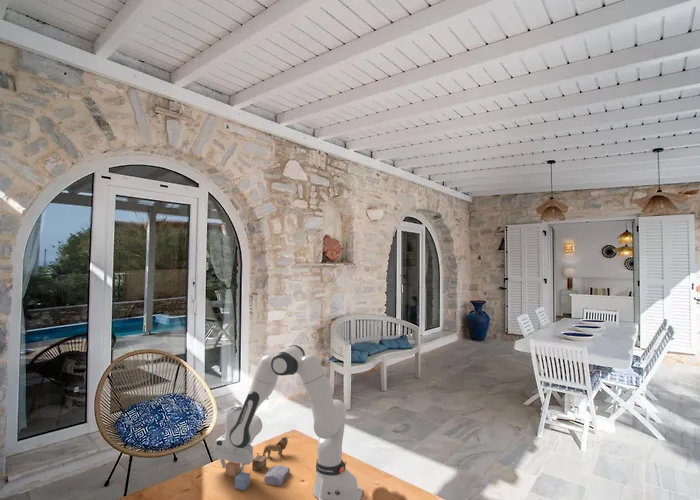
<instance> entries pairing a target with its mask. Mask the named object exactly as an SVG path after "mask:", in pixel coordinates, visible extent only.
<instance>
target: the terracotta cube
mask: <svg viewBox="0 0 700 500" xmlns="http://www.w3.org/2000/svg"><path fill="white" fill-rule="evenodd" d="M240 467H241V463H237V462H232V461H228V462H227V464H226V468H225V476H229V477H234V478H235V477H236V476H237V475H238V474H239V473H240V471H239V468H240Z"/></svg>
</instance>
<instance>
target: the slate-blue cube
mask: <svg viewBox="0 0 700 500" xmlns="http://www.w3.org/2000/svg"><path fill="white" fill-rule="evenodd" d="M250 485H251V473H249V472H244V471H243V472H239V473H238V474H237V475H236V476H235V477H234V489H235V490H241V491H245V490H246V489H247V488H248V487H249V486H250Z"/></svg>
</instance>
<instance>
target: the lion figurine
mask: <svg viewBox="0 0 700 500" xmlns="http://www.w3.org/2000/svg"><path fill="white" fill-rule="evenodd" d="M288 442H289V440H288V437H287V436H284V435H283V436H282V437H280V440H279V441H278V442H277V443H273V444H272V443H269V444H267V445H265V447H264V448H263V452H262V456H266V453H267V456H266V457H268V459H269V460H271V459H272V456H271V453H272V452H277V454H278V455H279V456H280V457H283V450H285V449H286V448H287V445H288Z"/></svg>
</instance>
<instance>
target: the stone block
mask: <svg viewBox="0 0 700 500" xmlns="http://www.w3.org/2000/svg"><path fill="white" fill-rule="evenodd" d="M290 471H291V470H290V466H289V467H288V466H285V465H280V464H278V465H273V466H271V468H270V469H269V470H268V471H267V472H266V473H265V475H264V479H263V480H264V483H265V484H266V485H271V486H279V485H280V487H281V486H282V485H283V484H284V482H285V481H286V480H287V477H288V476H289V474H290Z"/></svg>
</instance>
